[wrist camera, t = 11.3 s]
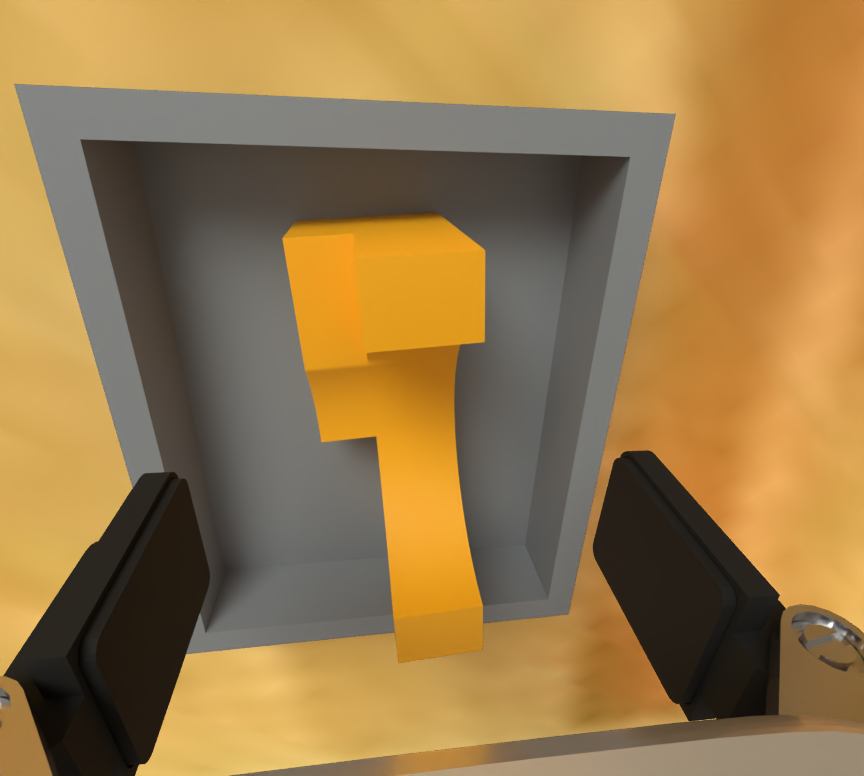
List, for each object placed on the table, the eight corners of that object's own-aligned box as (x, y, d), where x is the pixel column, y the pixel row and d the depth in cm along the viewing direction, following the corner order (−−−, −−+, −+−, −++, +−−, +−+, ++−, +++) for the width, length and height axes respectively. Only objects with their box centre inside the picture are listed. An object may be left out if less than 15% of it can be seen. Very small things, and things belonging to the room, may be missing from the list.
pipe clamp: (296, 220, 15) (259, 266, 9) (436, 212, 15) (485, 250, 10) (343, 524, 20) (339, 672, 15) (447, 511, 21) (482, 649, 15)
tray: (603, 121, 16) (675, 114, 12) (536, 544, 24) (568, 614, 20) (102, 100, 14) (13, 83, 10) (210, 571, 22) (181, 654, 18)
